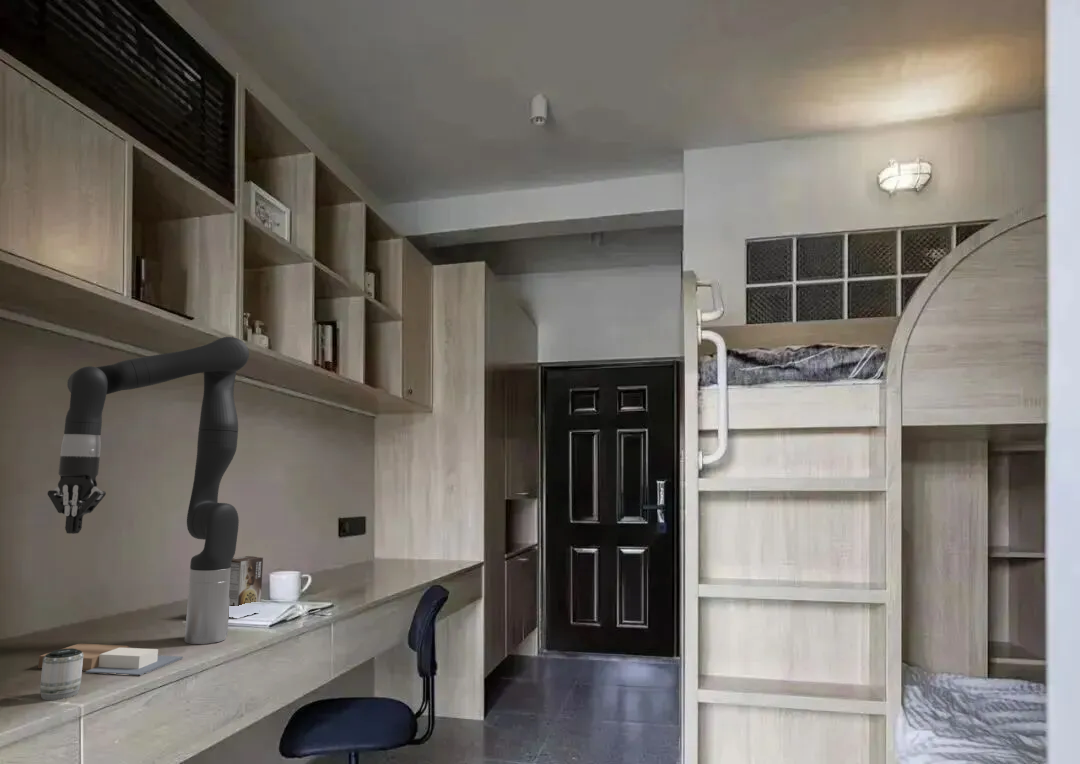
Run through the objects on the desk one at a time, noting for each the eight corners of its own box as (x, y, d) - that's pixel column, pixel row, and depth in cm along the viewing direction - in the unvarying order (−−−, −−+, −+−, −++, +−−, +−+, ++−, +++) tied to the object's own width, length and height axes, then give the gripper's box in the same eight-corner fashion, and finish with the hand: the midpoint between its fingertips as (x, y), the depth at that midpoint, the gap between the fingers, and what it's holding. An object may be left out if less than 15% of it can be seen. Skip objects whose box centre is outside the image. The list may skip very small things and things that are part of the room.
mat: (132, 655, 158) (132, 654, 158) (182, 658, 156) (182, 656, 156) (85, 673, 144) (85, 671, 144) (139, 676, 142) (139, 674, 142)
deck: (78, 655, 158) (79, 643, 158) (128, 657, 156) (129, 645, 156) (38, 668, 147) (39, 655, 147) (90, 671, 145) (92, 658, 146)
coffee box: (243, 611, 209) (247, 555, 211) (260, 613, 207) (264, 556, 209) (219, 617, 200) (223, 558, 203) (237, 619, 198) (241, 560, 200)
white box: (118, 659, 153) (119, 647, 153) (157, 661, 152) (158, 649, 152) (98, 666, 147) (99, 654, 148) (138, 668, 146) (139, 656, 147)
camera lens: (33, 696, 129) (38, 651, 130) (72, 688, 134) (76, 645, 135) (46, 703, 125) (50, 657, 126) (85, 694, 130) (89, 650, 131)
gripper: (119, 455, 162) (112, 532, 160) (66, 455, 164) (59, 531, 162) (95, 455, 155) (87, 535, 153) (40, 454, 157) (31, 533, 154)
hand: (72, 533), depth 157 cm, fingers closed
